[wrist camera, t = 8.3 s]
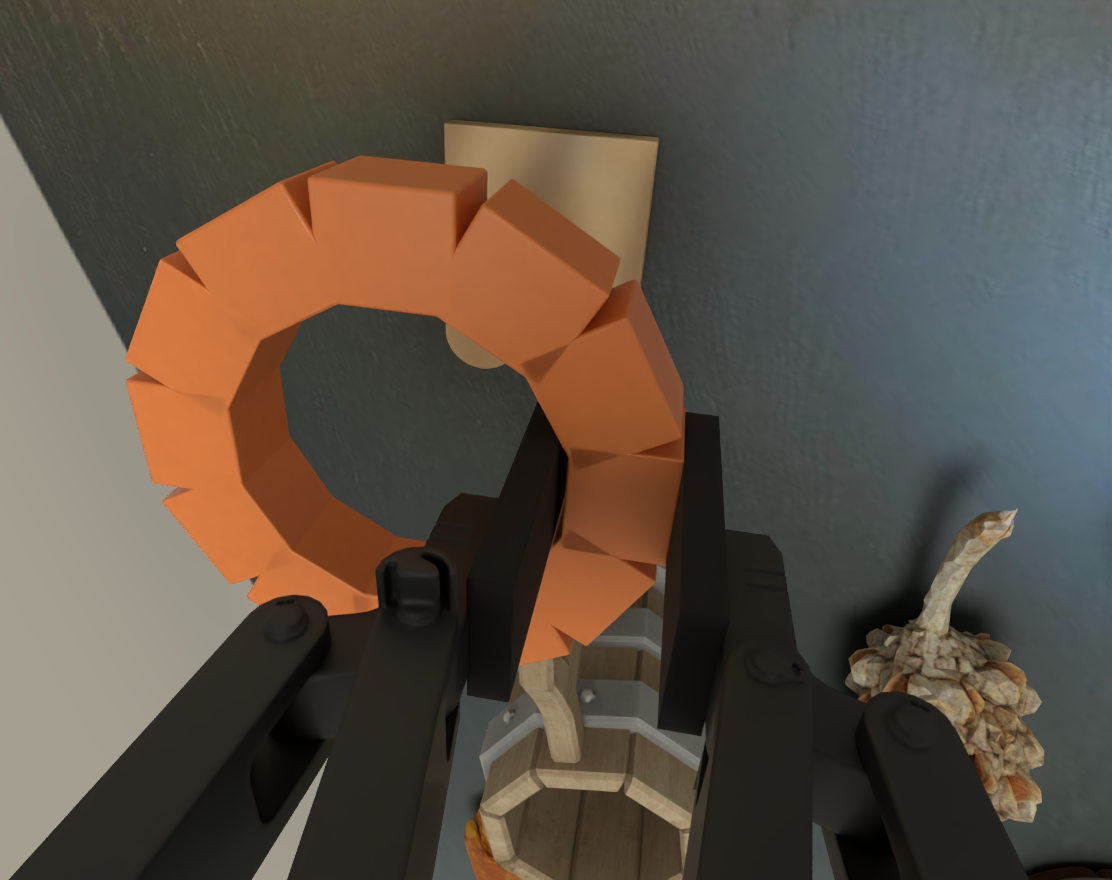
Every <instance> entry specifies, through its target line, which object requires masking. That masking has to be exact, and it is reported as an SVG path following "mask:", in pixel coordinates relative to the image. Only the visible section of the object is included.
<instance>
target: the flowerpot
mask: <svg viewBox="0 0 1112 880" xmlns="http://www.w3.org/2000/svg"><path fill="white" fill-rule="evenodd" d="M1028 878H1029V880H1112V869H1101V870H1099V871H1097V872H1096V873H1094V872H1093V871H1092V870H1090V869H1088V868H1085V867H1063V868H1056V869H1051V870H1046V871H1042V872H1039V873H1035V874H1033V875H1030V876H1028Z"/></svg>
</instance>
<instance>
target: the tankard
mask: <svg viewBox="0 0 1112 880" xmlns="http://www.w3.org/2000/svg"><path fill="white" fill-rule="evenodd" d="M665 574H666V565H665V566H663V565H657V575H656V582H655V584H653V585H652V586H651V587H650V588H649V589H648V590H647V591H646V592H645V593H644V594H643V595H642V596H640V597H639V598H638V599H637V600H636V601H635V602H634V603H633V604H632V605H631V606H630V607H629V608H628V609H626V610H625V611H624V612H623V613H622V614H621V615H620V616H619V617H618V618H617V619H616V620H615V621H613V622H612V623H611V624H610V625H609V626H608V627H607V628H606V629H605V630H604V631H603V632H602V633H601V634H599V635H598V636H597V637H596V638H595V639H594V640H593V641H592V642H591V643H590V644H589V645H588V646H585V645H583V644H581V643H580V642H578V641H577V640H575V639H573V641H572V646H571V651H570V654H568V655H565V656H561V657H556V658H552V659H547V660H543V661H539V662H534V663H530V664H525V665H521V666H519V667H518V671H517V674H516V678H515V682H514V686H513V689H512V693H511V697H510V700H509V702H508V705H507V708H505V709H504V710H503V711H502V712H501V713H499V714H498V715H497V716H496V717H494V718H493V719H492V720H491V721H489V724H488V728H487V731H486V735H485V738H484V742H483V745H482V748H481V752H480V755H479V758H480V762H481V765H482V769H483V772H484V776H485V779H486V786H485V789H484V793H483V797H482V800H481V804H480V808H479V811H480V814H481V818H482V821H483V824H484V827H485V831H486V834H487V837H488V841H489V844H490V847H491V851H492V854H493V857H494V859H495V861H496V862H498V863H499V865H500V866H501V867H503V868H504V869H506V870H508V871H509V872H511V873H513V874H514V875H516V876H518V877H520V878H521V879H523V880H682V878H683V871H684V865H685V858H686V851H687V845H688V838H689V832H690V825H691V818H692V812H693V805H694V799H695V792H696V790H694V789H693V787H694V784H695V780H696V776H697V772H698V768H699V764H700V760H701V756H702V752H703V748H704V744H705V740H706V738H705V723H704V727H703V732H702V736H696V735H690V734H685V733H679V732H673V731H668V730H662V729H657V720H658V702H659V683H660V665H661V647H662V629H663V611H664V593H665Z"/></svg>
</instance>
